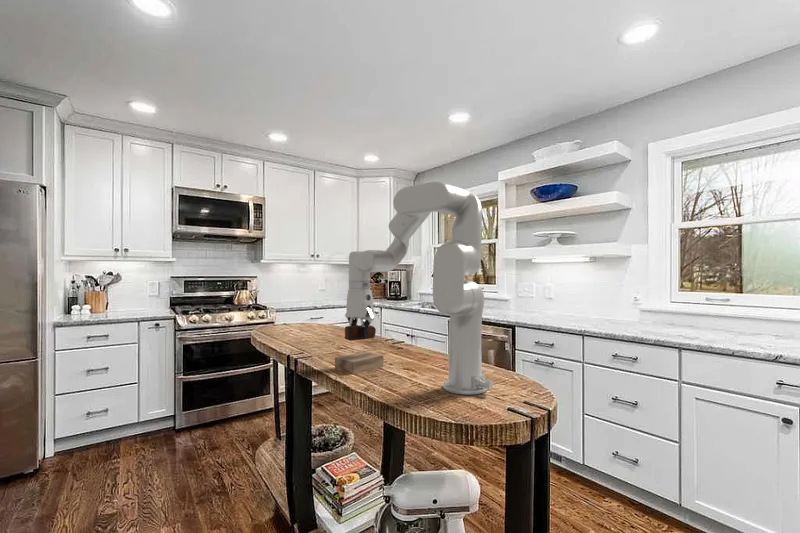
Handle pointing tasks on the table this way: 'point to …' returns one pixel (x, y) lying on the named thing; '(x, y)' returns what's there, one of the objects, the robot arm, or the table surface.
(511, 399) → the table surface
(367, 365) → the base block
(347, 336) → the brick
